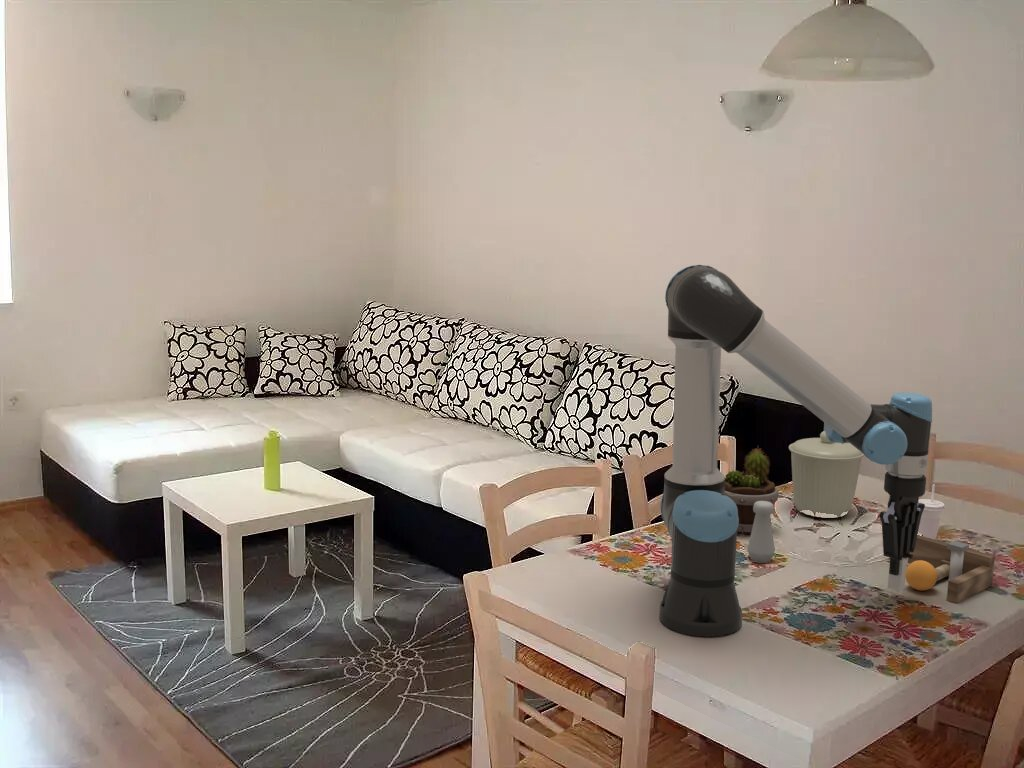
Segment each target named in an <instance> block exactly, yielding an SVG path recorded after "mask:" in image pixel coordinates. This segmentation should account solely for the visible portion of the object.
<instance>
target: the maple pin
mask: <svg viewBox="0 0 1024 768" xmlns="http://www.w3.org/2000/svg"><path fill="white" fill-rule="evenodd" d="M935 570H936V573H937V580H936V582H939V581H940V580H942V579H945V578H946V577H947V578H949V570H950V562H949V561H945V560H941V561H940V566H939V567H937V568H935Z"/></svg>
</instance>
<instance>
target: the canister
mask: <svg viewBox="0 0 1024 768" xmlns="http://www.w3.org/2000/svg"><path fill="white" fill-rule="evenodd" d="M788 450H789V451H790V452H791V456H790V457H791V458H790V459H791V475H792V477H791V479H792V493H793V502H794V505H795V508H796V510H797V511H798V512H799V511H802V510H810V511H812V512H813V513H816V512H818V513H819V512H820V513H826V514H834V515H837V516H840V515H841V514H842V513H843V512H847V511H849V510H850V509H851V510H852V507H853V503H854V499H855V494H856V489H857V484H858V480H859V474H860V469H861V465H862V459H863V457H865V455H864V454H863V453H862V452H861V451H859V450H858V449H857V448H856V447H854V446H853V445H852V444H851V443H844V444H842V443H836V442H831V441H829V440H828V438H827V436H826V433H825V430H823V431H822V432H821V433H820V434H819V437H809V438H808V437H807V438H801V439H798V440H796V441H795V442H793V443H791V444H789V445H788ZM851 510H850V511H851Z"/></svg>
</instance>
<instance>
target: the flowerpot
mask: <svg viewBox="0 0 1024 768" xmlns="http://www.w3.org/2000/svg"><path fill="white" fill-rule="evenodd" d="M762 449H763V448H759V445H757V448H754V449H752V450H751V451H749V453H747V455H746V457H745V458H744V461H745V462H746V463H744V464H742V465H744V467H743V470H745V471H742V472H741V471H740V470H736V468H737V467H736V466H735V467H734V469H733V468H732V469H731V471H729V470H730V469H729V468H728V469H727V473H726V474H725V489H724V495H725V496H728V497H729V498H731V499H732V500H733V501H734V502H735V504H736V506H737V509H738V517H739V524H738V528H737V536H738V535H741V534H744V535H745V536H747V537H750V536H751V532H752V527H753V523H754V519H755V515H756V513H755V512H754V511H753V506H754V503H755V502H757V501H768V502H771V503H772V504H773V505H774V503H776V502H777V501H778V499H779V495H780V494H779V489H778V488H777V487H776V485H775V483H774V482H773V481H770V480H769V478H768V476H769V473H770V469H769V468H770V463H768V462H770V459H769V458H768V456H767V454H766V453H765V452H764V453H763V451H762ZM764 454H765V455H764Z"/></svg>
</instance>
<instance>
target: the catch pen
mask: <svg viewBox="0 0 1024 768" xmlns="http://www.w3.org/2000/svg"><path fill="white" fill-rule="evenodd" d="M948 543H949V542H946V541H943V540H939V539H938V540H937V539H936V540H935V539H931V538H927V537H924V536H920V535H917V539H916V544H915V549H914V552H910V554H911V555H913V557H912V558H911V559H910V558H907V563H908V564H911V563H912V562H914V561H918V560H922V561H926V562H928V563H930V564H931V565H932V566H933V567H934V568H937V567H939V566H940V561H941V560H945V561H949V562H950V559H951V549H947V545H948ZM995 560H996V555H992V554H989V553H985V552H982V551H978V550H974V549H971V548H969V549H968V550H966V551H964V558H963V568H962V575H960V576H958V577H956V578H954V579H952V580H949V579H948V580H949V581H948V580H947V581H948V583H947V593H946V601H948V602H951V603H954V604H958V603H960V602H962V601H965V600H966V599H969V598H970V597H972V596H974V595H977V594H978V593H981V592H982V591H984V590H987V589H989V588H990V587H991V585H992V584H993V581H994V580H993V579H994V569H995Z"/></svg>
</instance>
